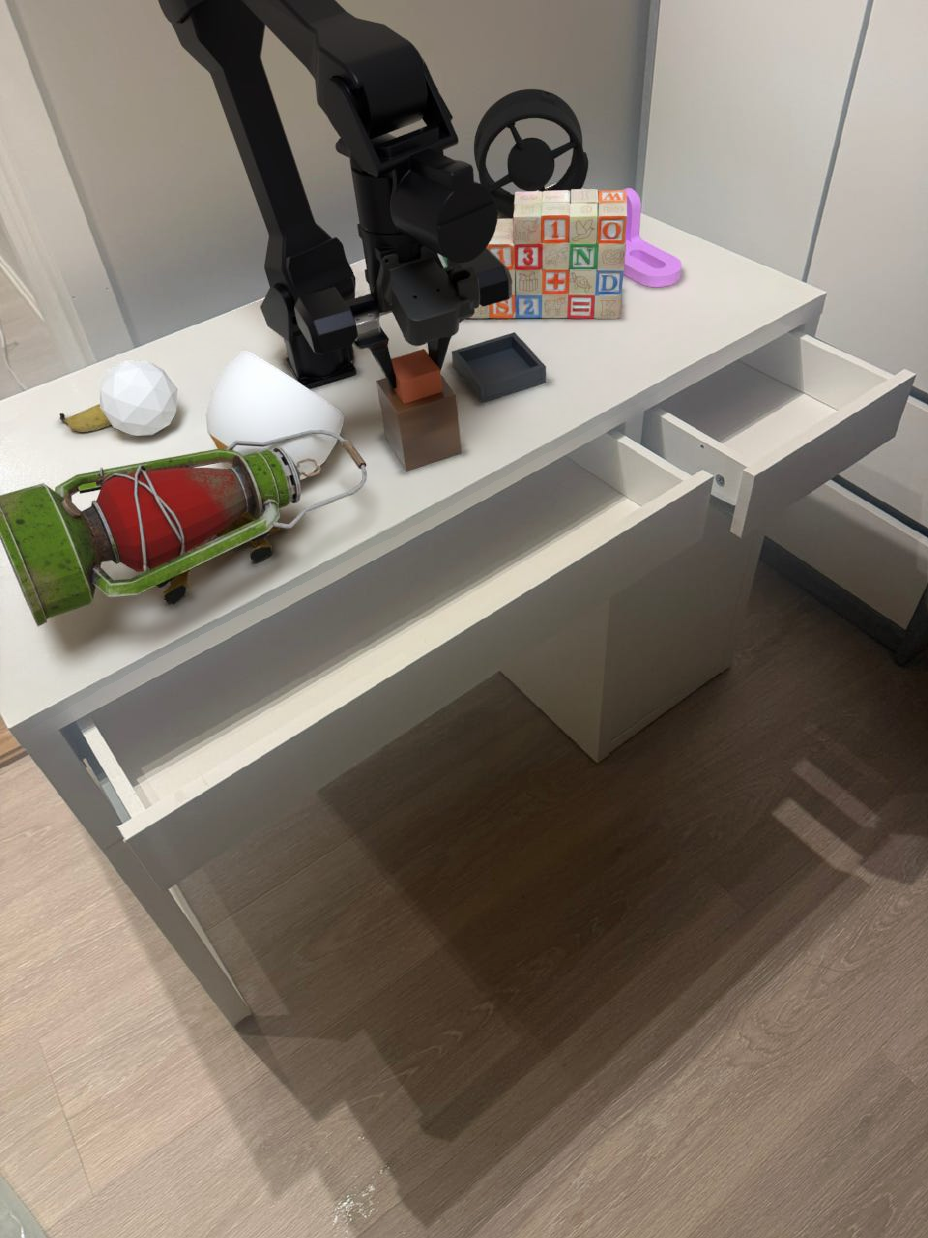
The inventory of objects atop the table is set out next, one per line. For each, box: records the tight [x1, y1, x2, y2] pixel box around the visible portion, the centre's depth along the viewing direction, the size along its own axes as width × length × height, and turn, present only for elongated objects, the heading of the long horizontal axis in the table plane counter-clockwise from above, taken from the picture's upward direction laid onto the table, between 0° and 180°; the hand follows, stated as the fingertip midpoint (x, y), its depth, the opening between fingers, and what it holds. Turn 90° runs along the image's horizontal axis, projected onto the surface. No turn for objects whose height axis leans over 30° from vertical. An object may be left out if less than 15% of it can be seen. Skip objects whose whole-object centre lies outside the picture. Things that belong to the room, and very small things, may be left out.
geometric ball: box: [99, 359, 178, 437], centre depth 96 cm, size 8×8×8 cm
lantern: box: [0, 430, 368, 627], centre depth 77 cm, size 14×11×30 cm
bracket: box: [622, 187, 683, 288], centre depth 112 cm, size 13×6×7 cm, turn 35°
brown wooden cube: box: [375, 374, 462, 472], centre depth 91 cm, size 6×6×7 cm
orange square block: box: [391, 348, 442, 404], centre depth 87 cm, size 4×4×2 cm
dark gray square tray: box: [451, 331, 547, 404], centre depth 100 cm, size 8×8×2 cm
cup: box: [205, 349, 346, 481], centre depth 88 cm, size 12×12×10 cm
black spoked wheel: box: [473, 88, 589, 219], centre depth 119 cm, size 14×14×10 cm
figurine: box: [154, 512, 281, 605], centre depth 84 cm, size 15×6×13 cm
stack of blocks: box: [437, 188, 627, 320], centre depth 105 cm, size 21×6×12 cm, turn 84°
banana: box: [58, 403, 112, 433], centre depth 99 cm, size 10×2×4 cm
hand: (414, 379), depth 88 cm, fingers open, 4 cm apart
